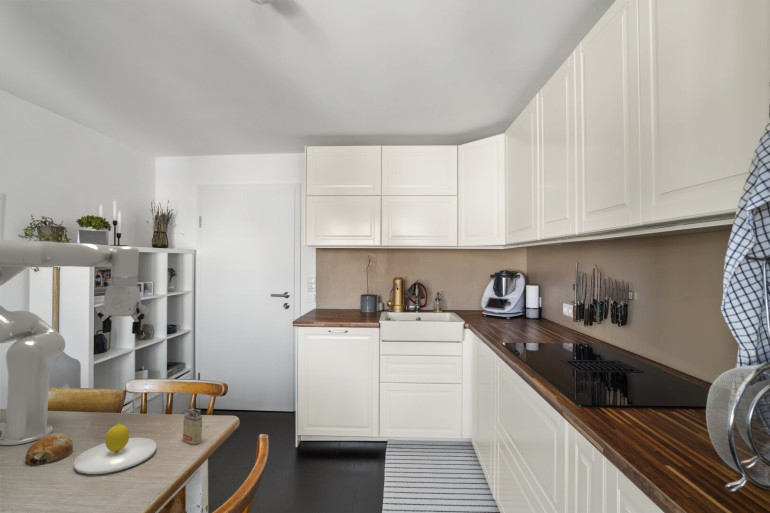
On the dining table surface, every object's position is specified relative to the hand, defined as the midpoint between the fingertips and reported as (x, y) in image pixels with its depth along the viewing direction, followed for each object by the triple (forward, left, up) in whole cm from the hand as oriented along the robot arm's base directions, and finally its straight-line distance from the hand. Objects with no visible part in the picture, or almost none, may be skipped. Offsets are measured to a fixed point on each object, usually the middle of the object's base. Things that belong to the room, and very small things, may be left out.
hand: (121, 332), depth 125 cm
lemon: (+13, -19, -31) cm, 38 cm away
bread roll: (-6, -18, -33) cm, 38 cm away
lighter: (+29, -8, -32) cm, 44 cm away
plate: (+13, -19, -32) cm, 40 cm away
